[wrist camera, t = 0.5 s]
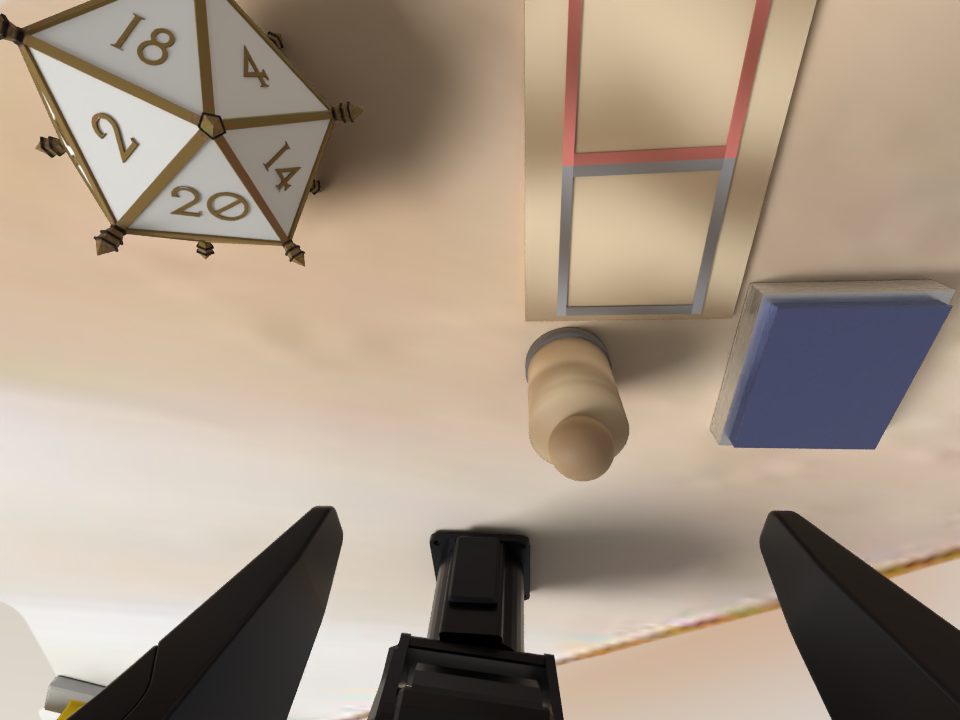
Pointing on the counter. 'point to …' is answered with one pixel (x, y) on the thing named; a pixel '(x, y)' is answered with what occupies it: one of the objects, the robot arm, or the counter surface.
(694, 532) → the counter surface
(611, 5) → the card sheet
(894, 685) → the robot arm
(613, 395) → the stamp
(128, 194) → the game die
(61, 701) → the toy computer monitor
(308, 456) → the counter surface
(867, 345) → the ink pad
